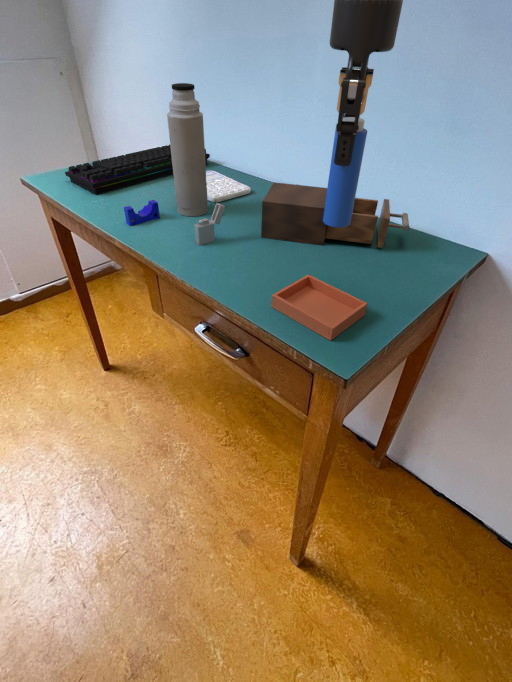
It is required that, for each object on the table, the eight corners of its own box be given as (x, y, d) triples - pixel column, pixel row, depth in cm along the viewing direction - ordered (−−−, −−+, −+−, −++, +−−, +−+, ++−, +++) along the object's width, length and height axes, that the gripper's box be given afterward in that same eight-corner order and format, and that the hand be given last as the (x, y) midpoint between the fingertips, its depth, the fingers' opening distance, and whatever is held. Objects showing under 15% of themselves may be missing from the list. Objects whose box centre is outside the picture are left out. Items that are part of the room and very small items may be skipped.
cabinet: (328, 223, 99) (334, 188, 94) (323, 245, 90) (328, 208, 84) (272, 216, 102) (273, 182, 96) (261, 237, 92) (262, 201, 87)
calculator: (214, 204, 107) (213, 197, 106) (175, 183, 119) (175, 176, 117) (252, 193, 114) (252, 186, 112) (212, 174, 125) (212, 168, 124)
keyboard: (180, 154, 141) (178, 139, 138) (210, 164, 133) (210, 148, 130) (67, 181, 117) (62, 164, 114) (95, 196, 109) (90, 177, 106)
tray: (364, 315, 70) (367, 303, 68) (330, 341, 64) (332, 328, 63) (306, 285, 77) (308, 274, 75) (271, 306, 71) (271, 294, 70)
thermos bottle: (171, 212, 102) (155, 84, 84) (190, 202, 108) (179, 80, 90) (195, 219, 99) (185, 88, 81) (214, 208, 105) (208, 83, 86)
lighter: (199, 245, 89) (196, 210, 83) (195, 242, 90) (192, 208, 84) (226, 238, 92) (225, 204, 87) (222, 235, 93) (221, 201, 88)
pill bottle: (351, 218, 62) (369, 117, 53) (349, 229, 59) (369, 124, 50) (324, 214, 63) (338, 115, 54) (321, 225, 60) (335, 121, 51)
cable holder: (153, 213, 101) (150, 197, 99) (160, 218, 99) (157, 202, 97) (124, 221, 97) (120, 205, 95) (130, 226, 95) (127, 209, 93)
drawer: (402, 229, 96) (410, 201, 91) (404, 251, 87) (413, 221, 83) (327, 220, 98) (331, 193, 94) (322, 240, 90) (326, 211, 86)
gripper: (406, -4, 38) (369, 179, 49) (401, -1, 49) (371, 148, 60) (328, -6, 39) (309, 173, 50) (340, -3, 50) (322, 144, 61)
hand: (343, 159), depth 55 cm, fingers closed on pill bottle, 4 cm apart
